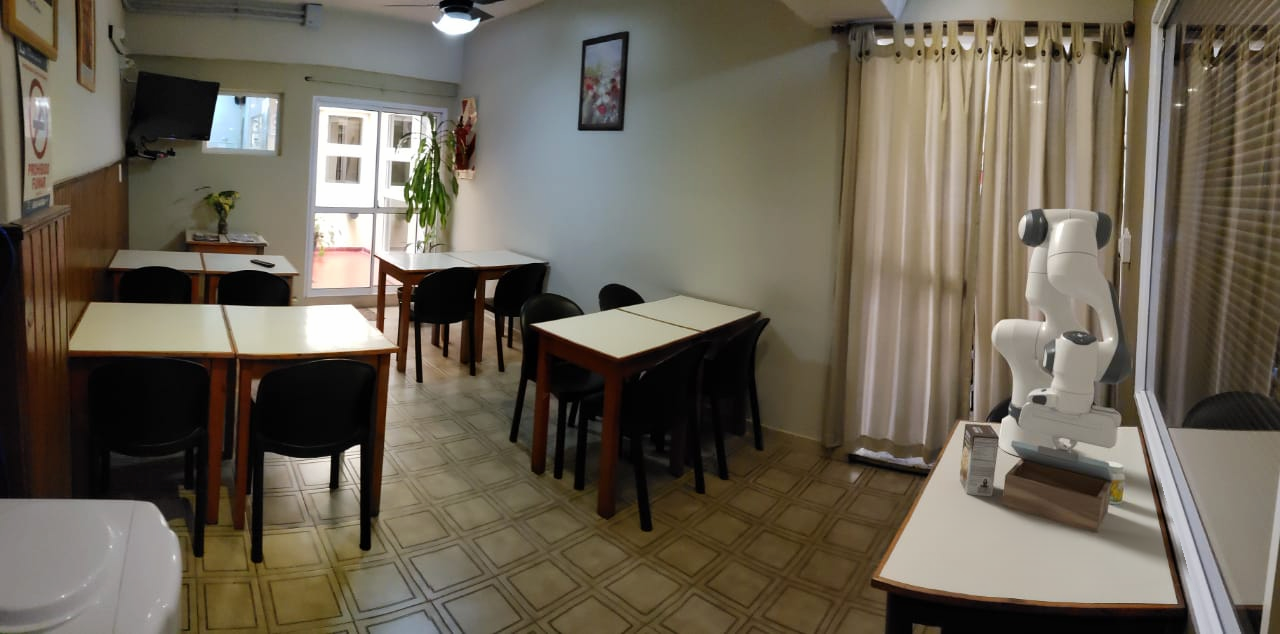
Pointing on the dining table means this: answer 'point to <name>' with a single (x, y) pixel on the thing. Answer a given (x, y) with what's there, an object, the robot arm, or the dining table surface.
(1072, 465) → the lid
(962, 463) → the coffee box
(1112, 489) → the supplement bottle
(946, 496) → the dining table surface
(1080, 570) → the dining table surface
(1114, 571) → the dining table surface
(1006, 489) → the walnut box
